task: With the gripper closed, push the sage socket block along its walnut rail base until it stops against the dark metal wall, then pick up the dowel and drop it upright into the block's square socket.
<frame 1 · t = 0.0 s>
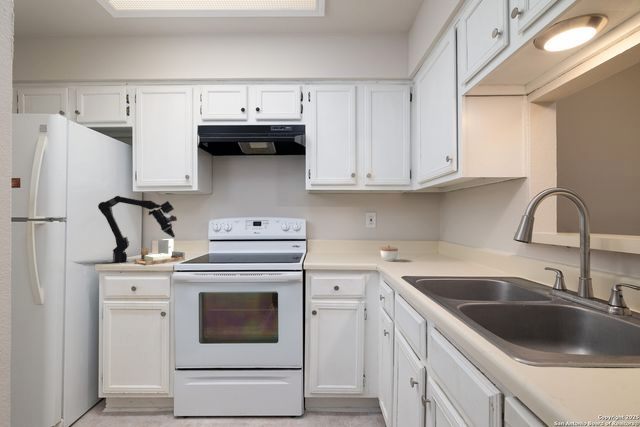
hand: (174, 236, 206), 15 cm above the worktop, tool tilted 35°, fingers open, 9 cm apart
rail base: (160, 261, 194), on the worktop
lidded jar: (389, 260, 193), on the worktop
socket block: (157, 257, 192), point 3 cm above the worktop, slide at 7.0 cm
dowel: (144, 260, 200), on the worktop
supplement box: (166, 257, 214), on the worktop
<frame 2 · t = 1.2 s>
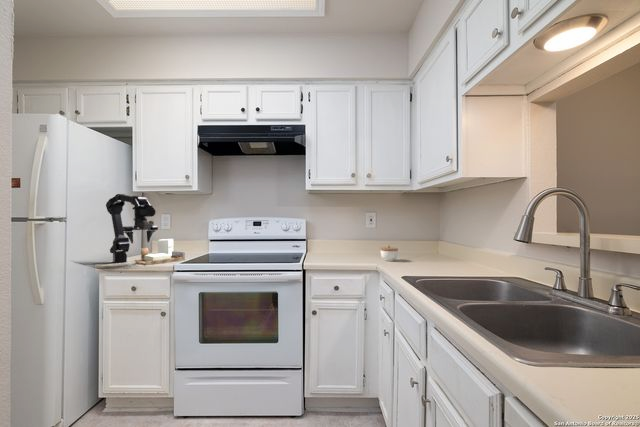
hand: (140, 242, 184), 13 cm above the worktop, tool pointing down, fingers open, 9 cm apart
nothing on the worktop moved.
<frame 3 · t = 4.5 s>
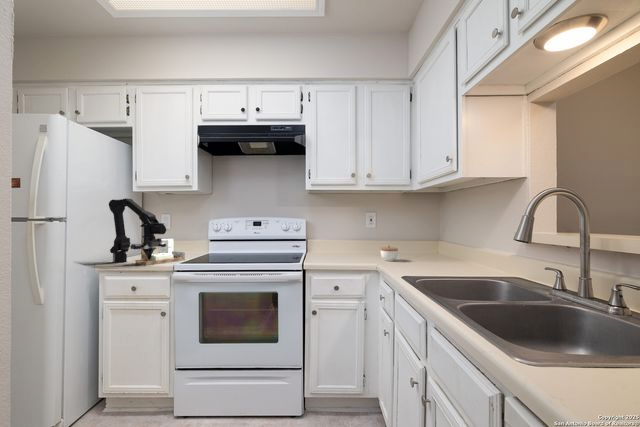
hand: (148, 259, 188), 2 cm above the worktop, tool pointing down, fingers closed
socket block: (160, 257, 194), point 3 cm above the worktop, slide at 5.4 cm, touching gripper
everything else where it was.
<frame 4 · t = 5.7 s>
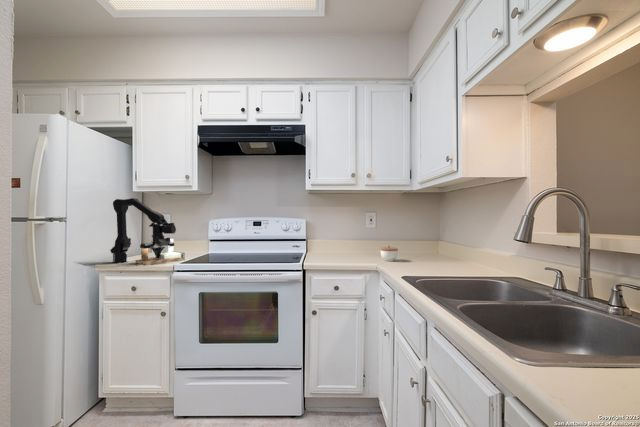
hand: (157, 258, 192), 2 cm above the worktop, tool pointing down, fingers closed
socket block: (168, 256, 198), point 3 cm above the worktop, slide at 0.0 cm, touching gripper
everything else where it was.
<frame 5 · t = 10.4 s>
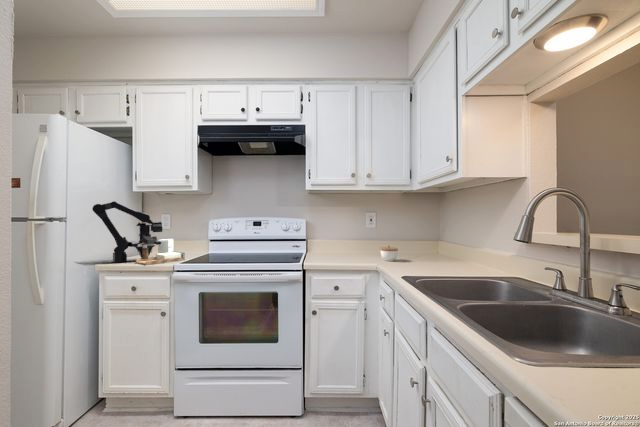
hand: (144, 256, 200), 3 cm above the worktop, tool pointing down, fingers closed on dowel, 4 cm apart
socket block: (168, 256, 198), point 3 cm above the worktop, slide at 0.0 cm
dowel: (144, 260, 200), on the worktop, touching gripper
everything else where it was.
when the fingers open (5 cm above the worktop, at t = 15.4 s): dowel drops 1 cm, resting on socket block.
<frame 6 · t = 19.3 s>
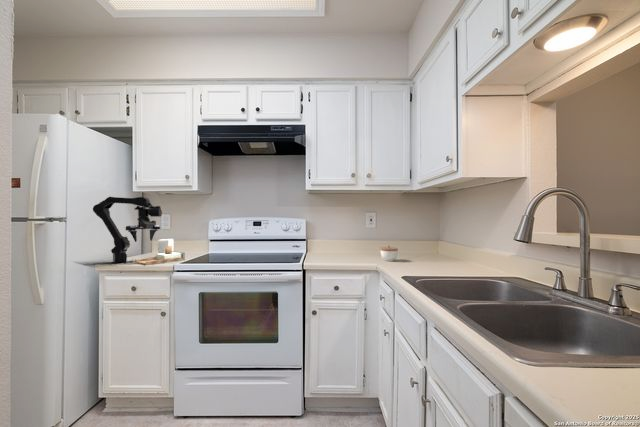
hand: (143, 241, 195), 13 cm above the worktop, tool pointing down, fingers open, 9 cm apart
socket block: (168, 256, 198), point 3 cm above the worktop, slide at 0.0 cm, touching dowel
dowel: (168, 258, 198), point 2 cm above the worktop, touching socket block
everything else where it was.
at the end: socket block slide at 0.0 cm; dowel 0.1 cm from the target spot, point 1.5 cm above the worktop; dowel tilted 0° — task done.
